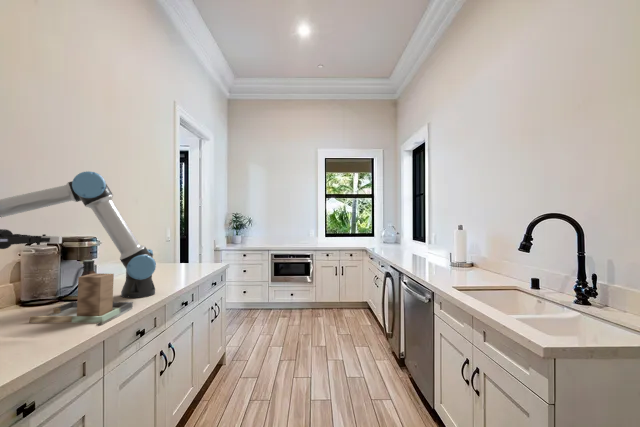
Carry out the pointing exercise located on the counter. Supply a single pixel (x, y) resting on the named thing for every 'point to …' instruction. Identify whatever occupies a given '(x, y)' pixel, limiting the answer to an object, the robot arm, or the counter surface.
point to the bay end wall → (110, 314)
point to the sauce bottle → (88, 267)
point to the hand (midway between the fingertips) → (60, 239)
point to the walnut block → (95, 294)
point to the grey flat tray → (69, 315)
